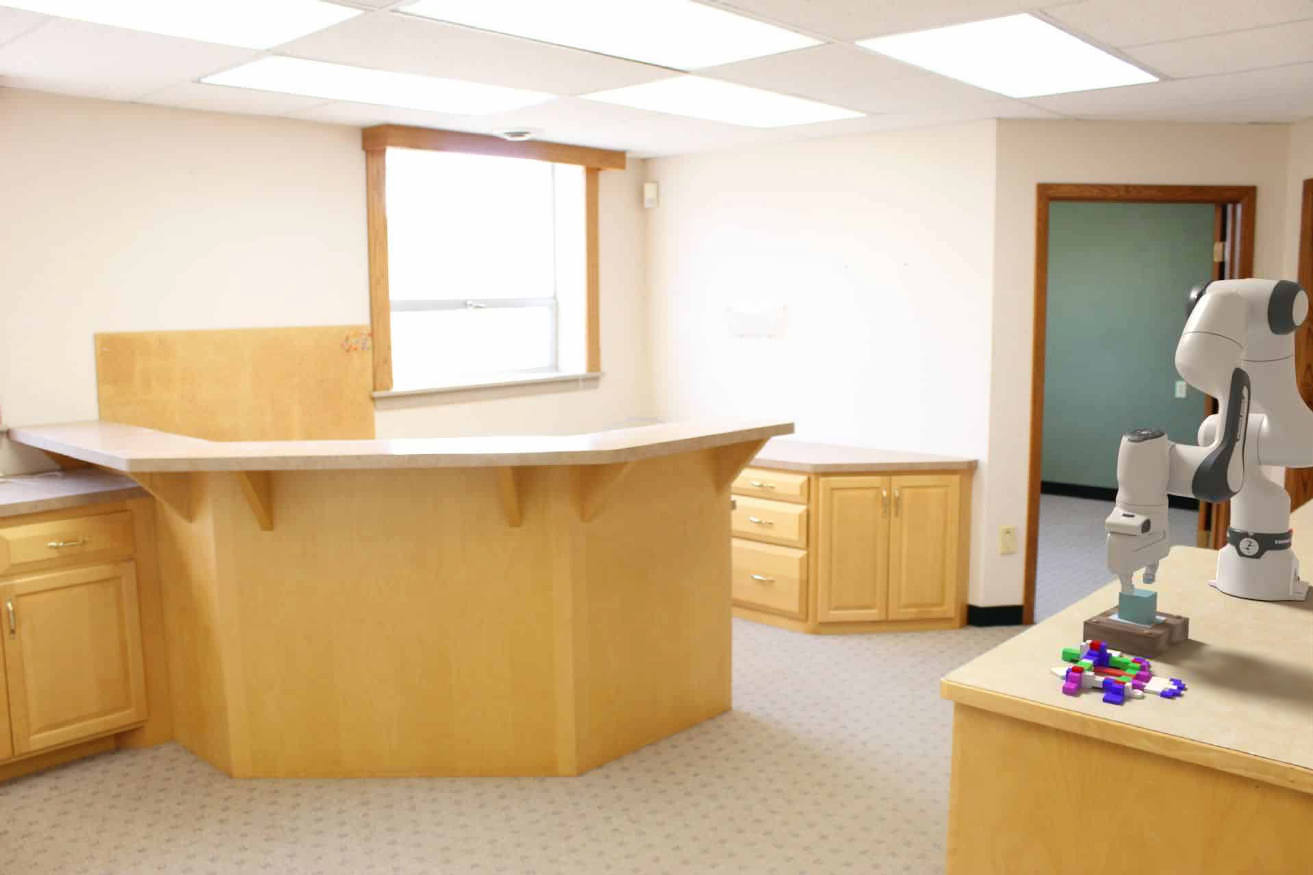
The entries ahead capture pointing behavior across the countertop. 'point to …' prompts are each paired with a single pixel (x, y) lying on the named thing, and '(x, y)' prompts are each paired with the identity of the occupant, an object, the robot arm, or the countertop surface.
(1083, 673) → the building block set
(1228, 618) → the countertop surface
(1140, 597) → the teal block
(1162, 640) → the plinth
